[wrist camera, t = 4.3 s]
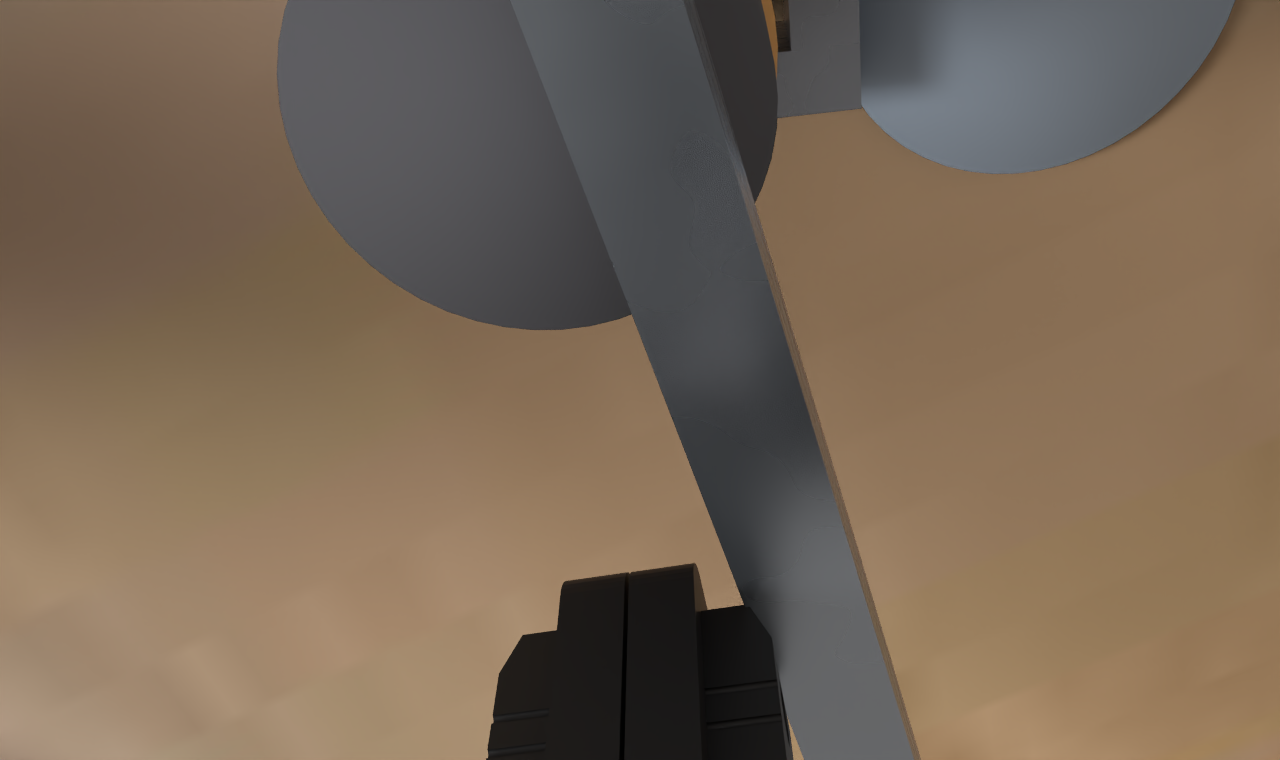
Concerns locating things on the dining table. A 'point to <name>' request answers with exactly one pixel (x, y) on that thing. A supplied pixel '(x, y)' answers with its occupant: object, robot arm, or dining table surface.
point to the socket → (818, 57)
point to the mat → (1026, 74)
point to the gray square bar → (722, 349)
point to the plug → (476, 149)
